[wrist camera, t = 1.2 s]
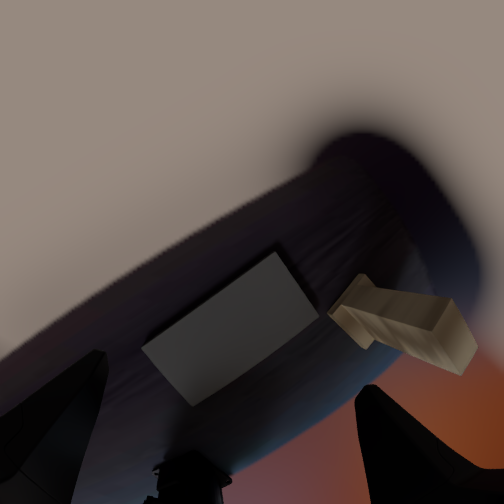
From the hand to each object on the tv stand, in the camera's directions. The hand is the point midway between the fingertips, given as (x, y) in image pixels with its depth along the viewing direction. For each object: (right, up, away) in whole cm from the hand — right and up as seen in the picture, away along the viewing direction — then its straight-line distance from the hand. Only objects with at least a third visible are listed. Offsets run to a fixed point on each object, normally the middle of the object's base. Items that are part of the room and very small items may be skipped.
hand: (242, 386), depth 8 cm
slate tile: (-2, -3, +16) cm, 16 cm away
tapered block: (+11, -1, +18) cm, 21 cm away
